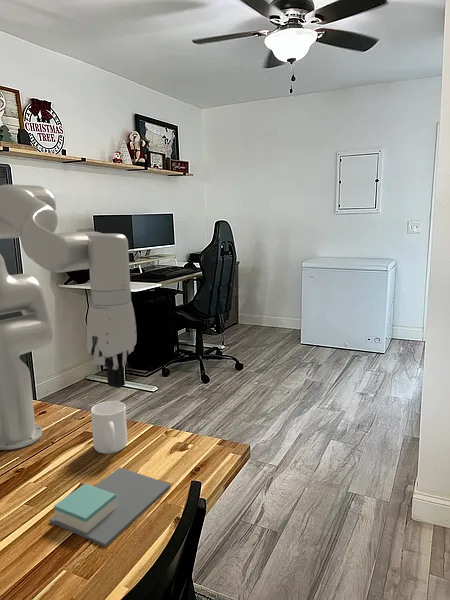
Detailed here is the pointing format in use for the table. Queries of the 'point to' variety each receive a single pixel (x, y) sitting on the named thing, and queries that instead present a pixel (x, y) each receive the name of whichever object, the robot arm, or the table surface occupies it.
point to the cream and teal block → (85, 507)
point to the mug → (109, 426)
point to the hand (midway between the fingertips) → (116, 385)
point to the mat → (122, 504)
